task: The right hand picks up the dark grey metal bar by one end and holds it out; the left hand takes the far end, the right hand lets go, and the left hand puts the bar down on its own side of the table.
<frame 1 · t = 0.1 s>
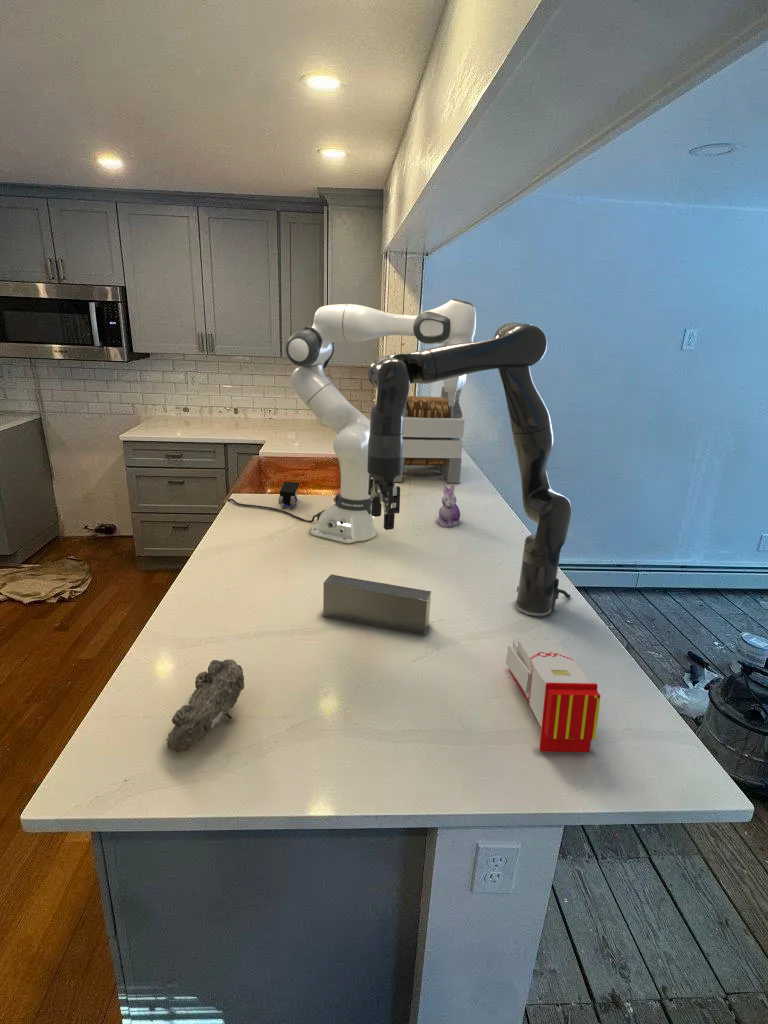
left hand: (453, 403, 174), 48 cm above the counter, tool pointing down, fingers open, 8 cm apart
right hand: (382, 522, 128), 29 cm above the counter, tool pointing down, fingers open, 8 cm apart
figurine: (448, 523, 212), on the counter
bar: (375, 620, 144), on the counter
figurine character: (289, 504, 224), on the counter
toy: (542, 703, 116), on the counter
transformer: (419, 473, 275), on the counter
fossil: (212, 717, 108), on the counter
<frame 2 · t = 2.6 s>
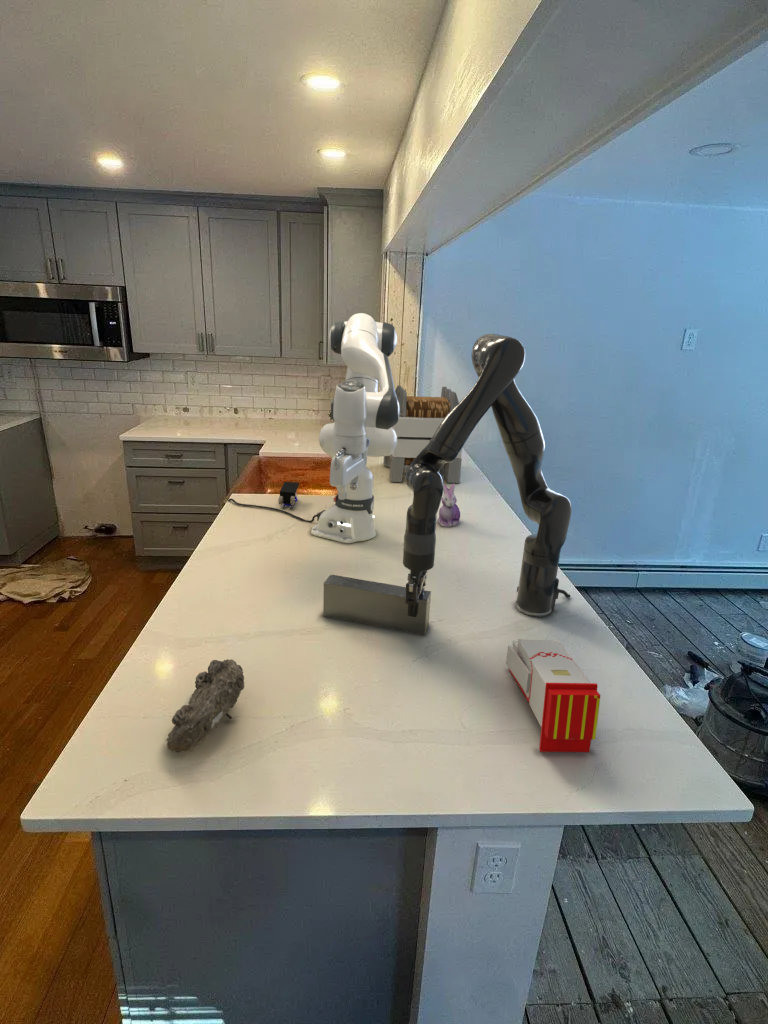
left hand: (348, 494, 155), 26 cm above the counter, tool pointing down, fingers open, 8 cm apart
right hand: (415, 610, 140), 5 cm above the counter, tool pointing down, fingers closed on bar, 5 cm apart
bar: (375, 620, 144), on the counter, touching right hand
everything else where it was.
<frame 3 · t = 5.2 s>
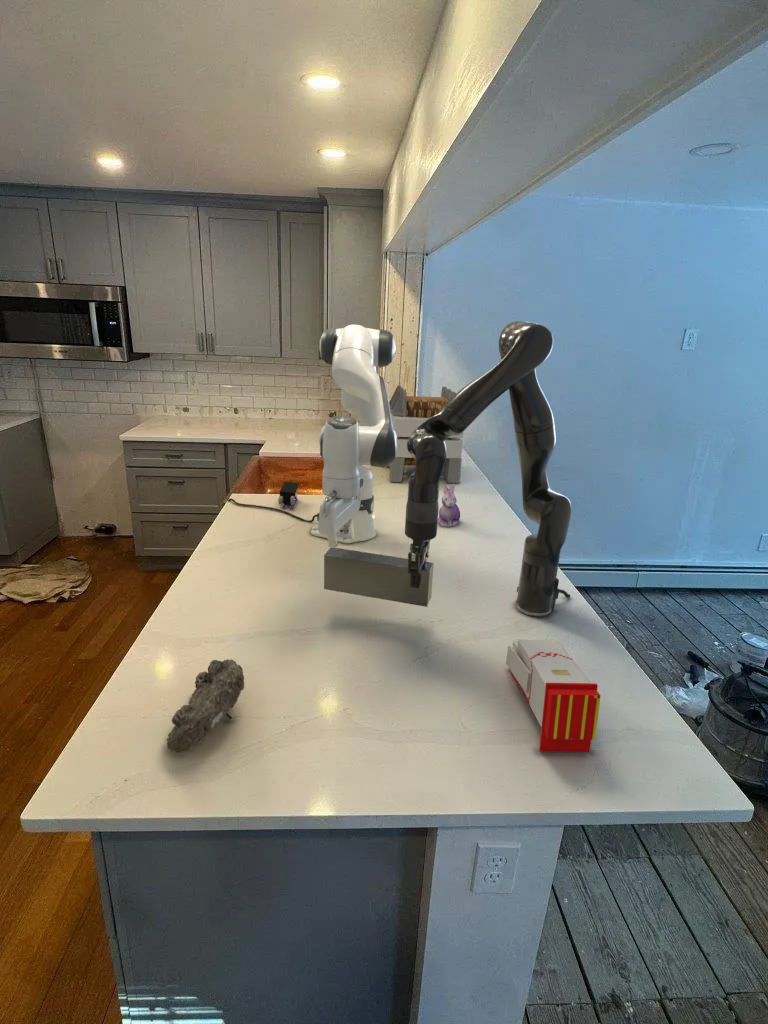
left hand: (339, 539, 139), 21 cm above the counter, tool pointing down, fingers open, 8 cm apart
right hand: (417, 581, 137), 13 cm above the counter, tool pointing down, fingers closed on bar, 5 cm apart
bar: (377, 593, 141), point 8 cm above the counter, touching right hand
everything else where it was.
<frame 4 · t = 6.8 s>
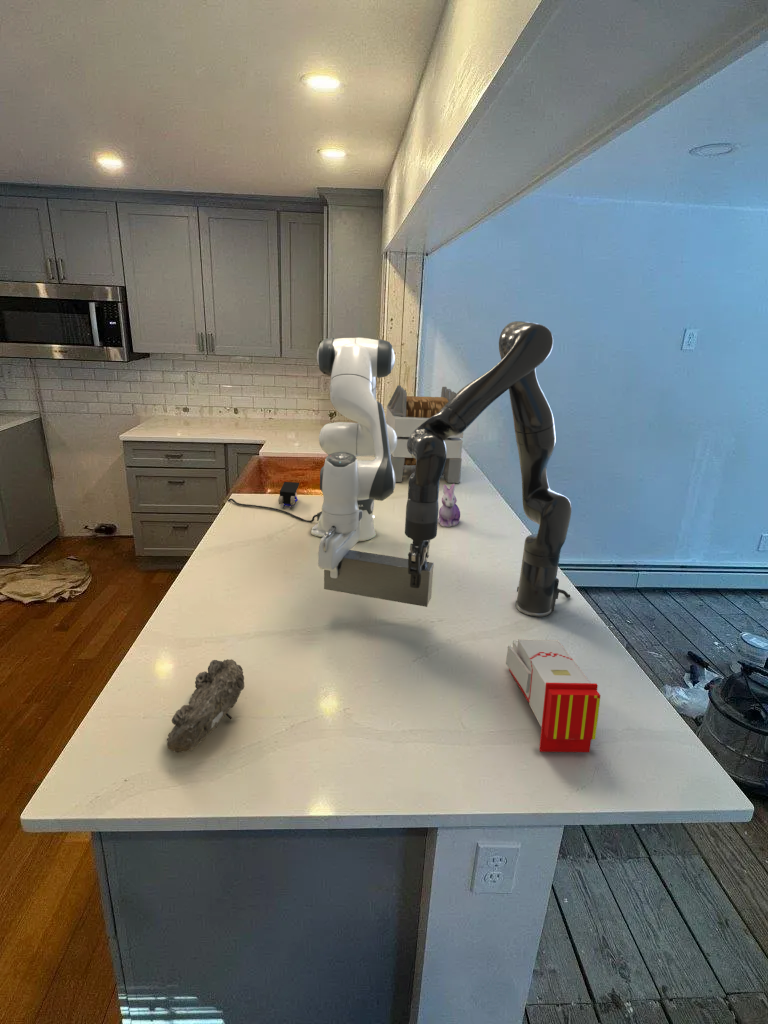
left hand: (339, 571, 142), 12 cm above the counter, tool pointing down, fingers closed on bar, 5 cm apart
right hand: (417, 581, 137), 13 cm above the counter, tool pointing down, fingers closed on bar, 5 cm apart
bar: (377, 593, 141), point 8 cm above the counter, touching left hand, right hand
everything else where it was.
when the right hand's fingers open (13 cm above the counter, at t = 8.0 s): bar stays where it is, held by the left hand.
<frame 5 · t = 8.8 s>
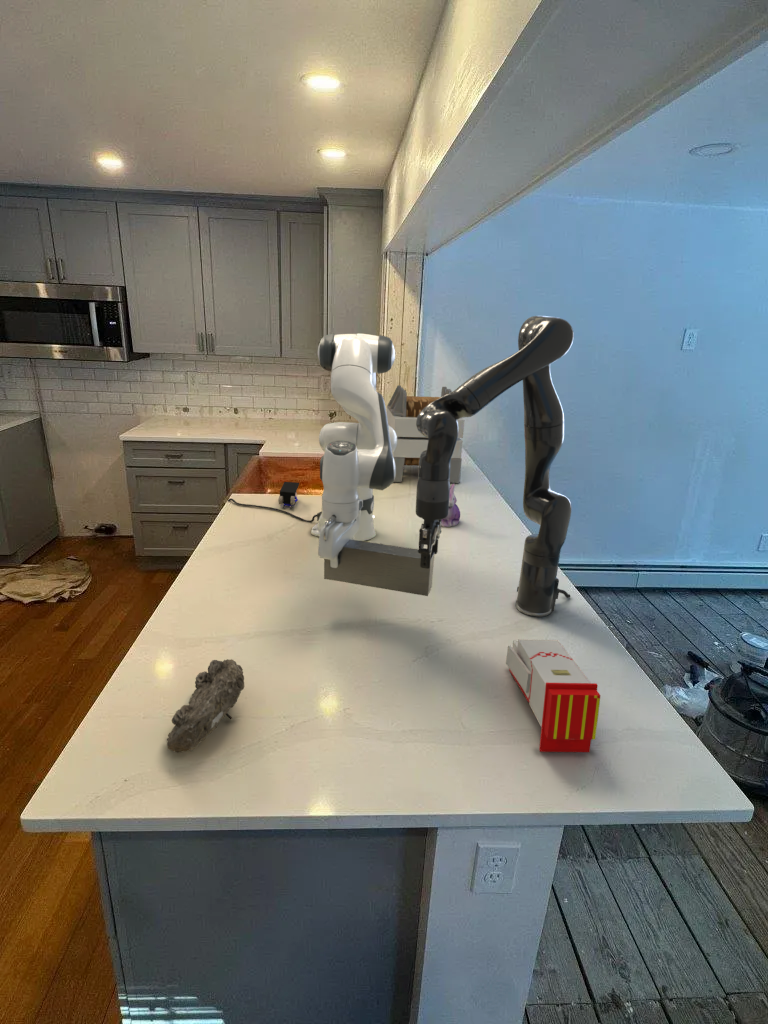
left hand: (339, 561, 142), 15 cm above the counter, tool pointing down, fingers closed on bar, 5 cm apart
right hand: (429, 560, 135), 19 cm above the counter, tool pointing down, fingers open, 8 cm apart
bar: (377, 583, 141), point 11 cm above the counter, touching left hand
everything else where it was.
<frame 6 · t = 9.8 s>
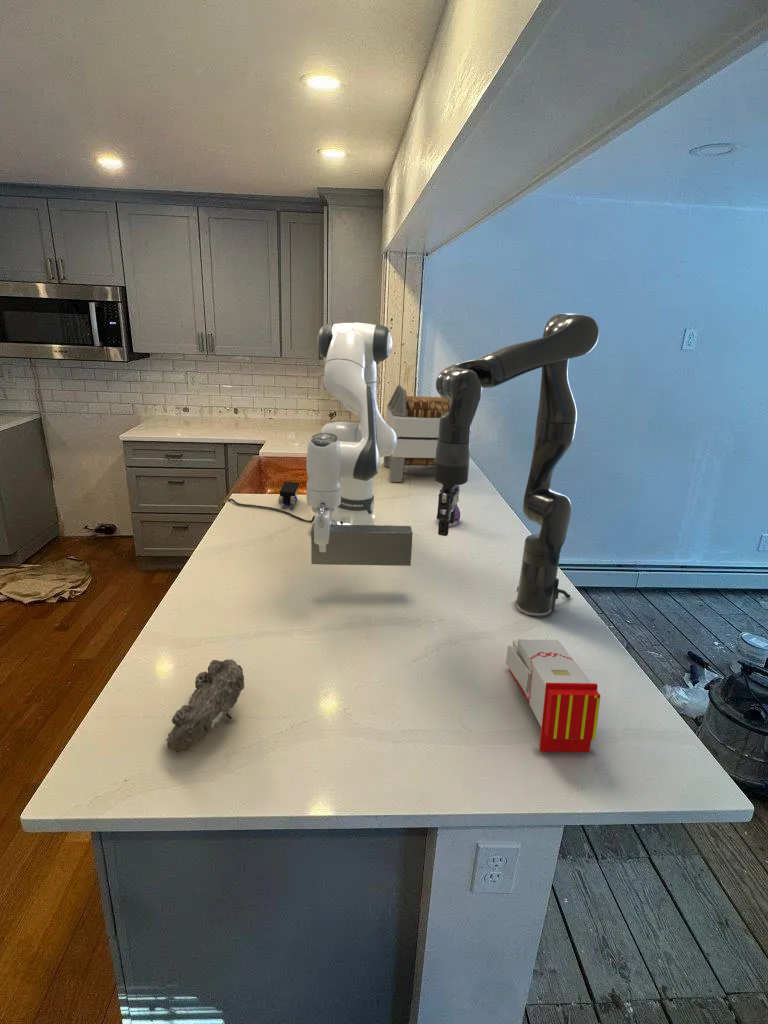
left hand: (323, 546, 151), 14 cm above the counter, tool pointing down, fingers closed on bar, 5 cm apart
right hand: (446, 528, 131), 27 cm above the counter, tool pointing down, fingers open, 8 cm apart
bar: (361, 561, 153), point 10 cm above the counter, touching left hand
everything else where it was.
when the left hand's fingers open (5 cm above the counter, at t = 12.6 s): bar stays where it is, on the counter.
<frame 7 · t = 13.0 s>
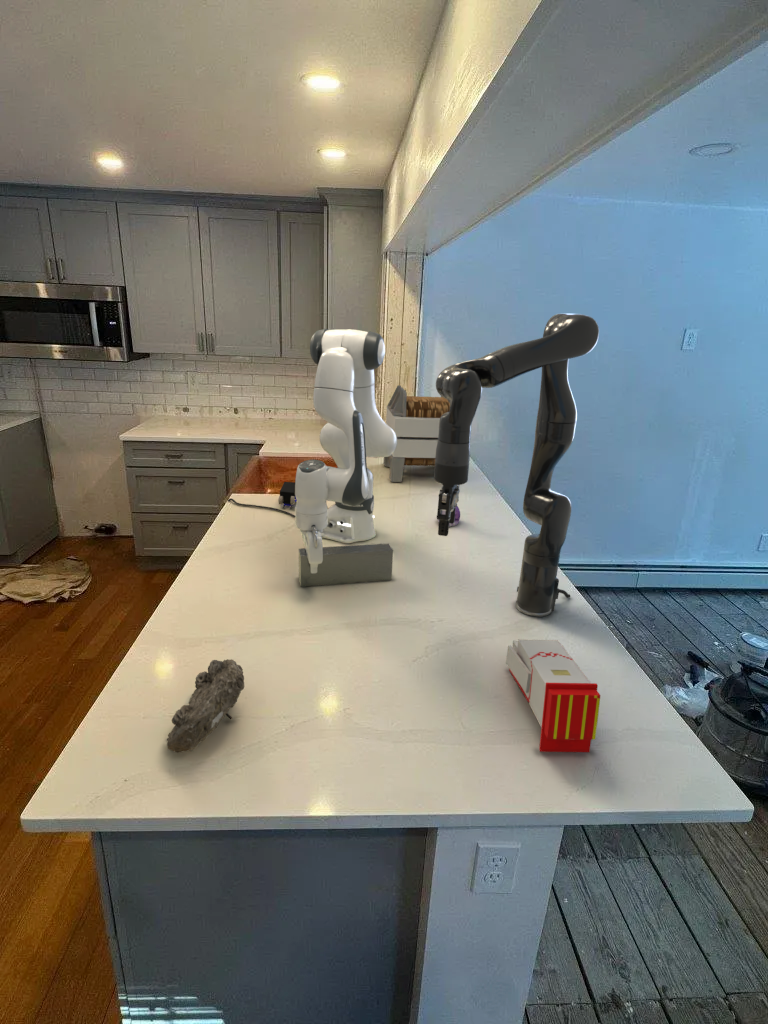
left hand: (311, 565, 161), 5 cm above the counter, tool pointing down, fingers open, 8 cm apart
right hand: (446, 528, 131), 27 cm above the counter, tool pointing down, fingers open, 8 cm apart
bar: (345, 579, 165), on the counter
everything else where it was.
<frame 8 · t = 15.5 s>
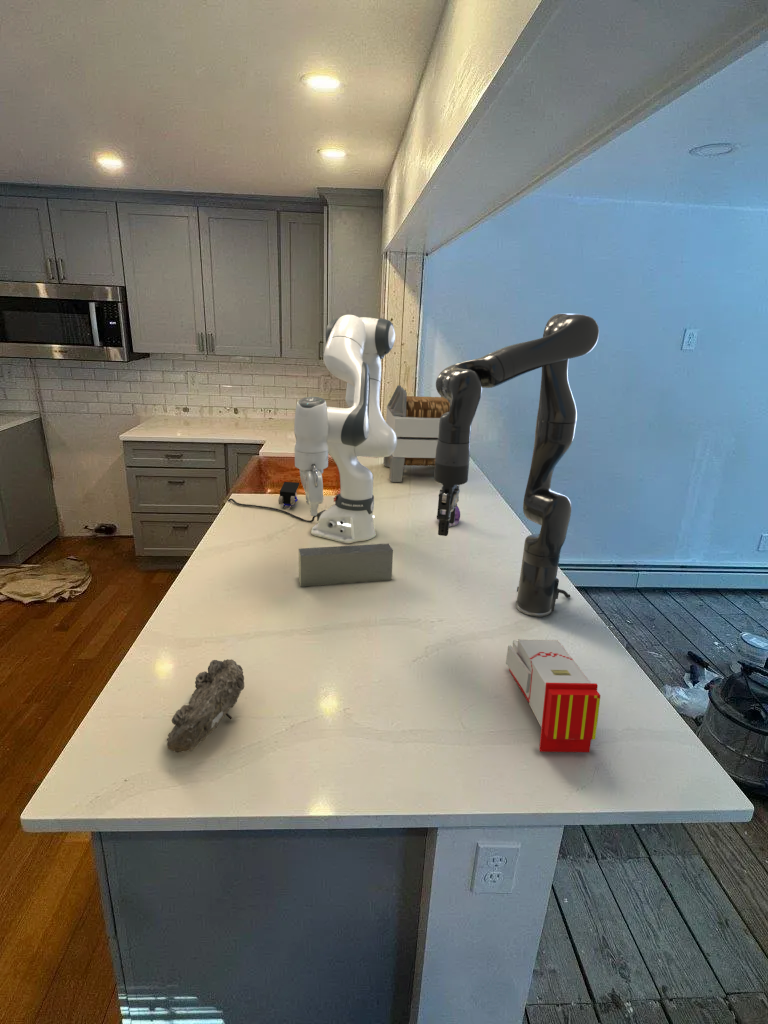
left hand: (311, 509, 155), 22 cm above the counter, tool pointing down, fingers open, 8 cm apart
right hand: (446, 528, 131), 27 cm above the counter, tool pointing down, fingers open, 8 cm apart
nothing on the counter moved.
at the end: bar inside the target area (9.9 cm from its centre), on the counter; the left hand is holding nothing; the right hand is holding nothing; bar at rest at the end (0.0 cm/s) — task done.
